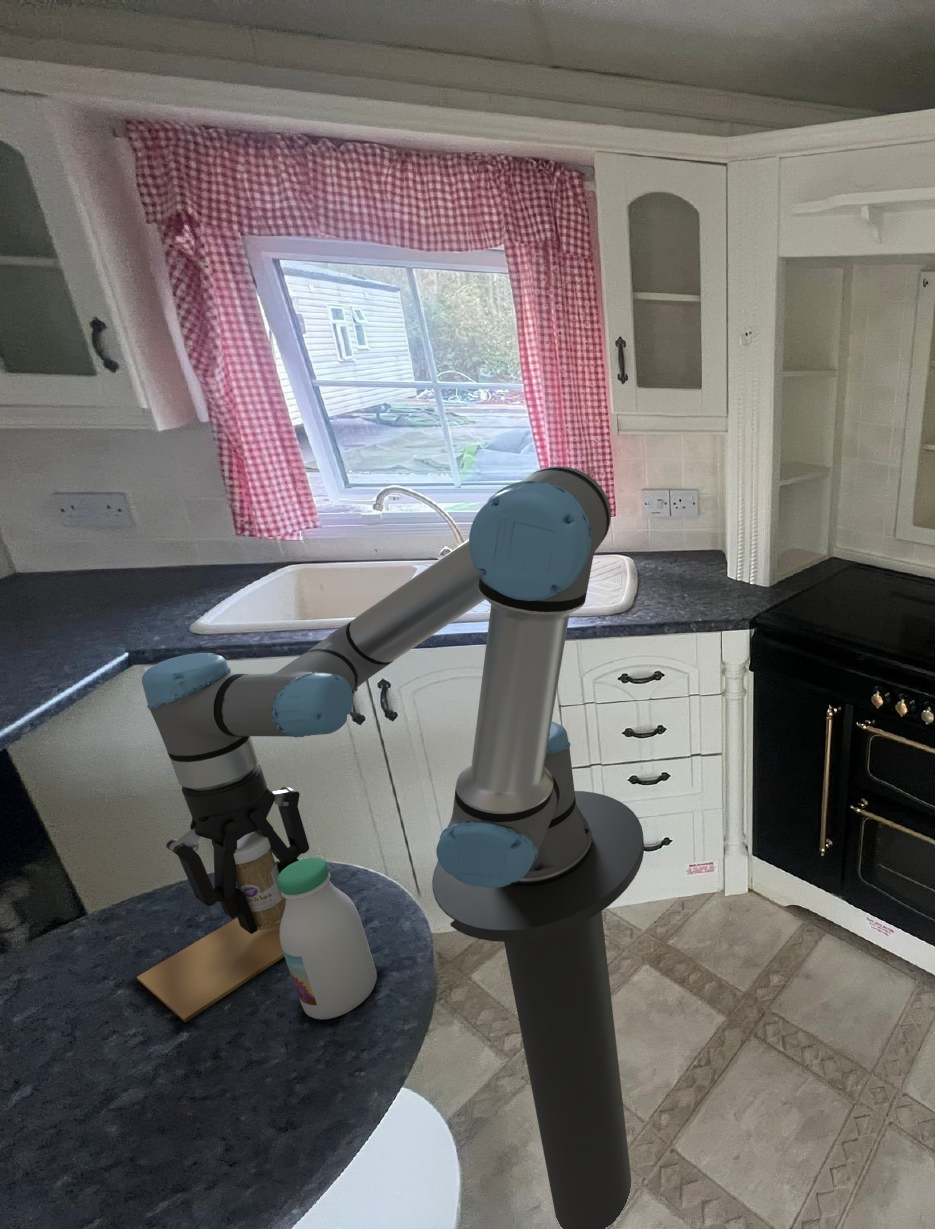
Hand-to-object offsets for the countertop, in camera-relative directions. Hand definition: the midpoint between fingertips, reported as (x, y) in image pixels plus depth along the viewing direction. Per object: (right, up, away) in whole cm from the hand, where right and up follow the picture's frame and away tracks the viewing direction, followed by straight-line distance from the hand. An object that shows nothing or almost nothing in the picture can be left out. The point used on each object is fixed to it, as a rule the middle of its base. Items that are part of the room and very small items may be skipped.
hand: (271, 914), depth 90 cm
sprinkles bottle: (0, -1, 0) cm, 1 cm away
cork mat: (-2, -4, -3) cm, 5 cm away
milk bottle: (+15, -7, -7) cm, 18 cm away
